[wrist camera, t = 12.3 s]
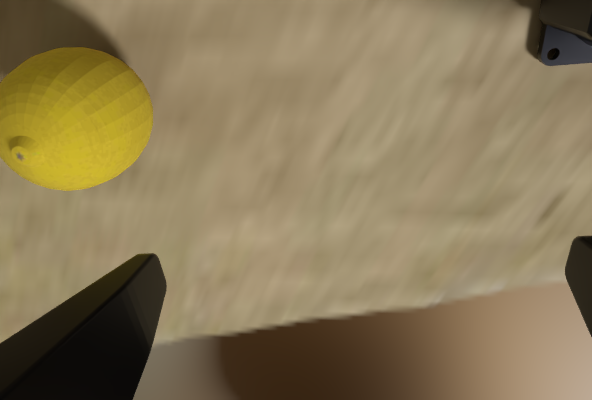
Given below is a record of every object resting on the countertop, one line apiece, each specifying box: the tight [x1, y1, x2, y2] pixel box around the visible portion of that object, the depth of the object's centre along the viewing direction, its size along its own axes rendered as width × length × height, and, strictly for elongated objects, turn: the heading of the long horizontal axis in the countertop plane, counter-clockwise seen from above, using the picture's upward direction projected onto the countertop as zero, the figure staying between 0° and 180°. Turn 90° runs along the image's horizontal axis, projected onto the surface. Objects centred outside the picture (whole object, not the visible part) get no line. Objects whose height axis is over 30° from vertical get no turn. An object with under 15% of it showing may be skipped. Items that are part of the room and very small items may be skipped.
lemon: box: [0, 47, 153, 191], centre depth 18 cm, size 6×6×8 cm
